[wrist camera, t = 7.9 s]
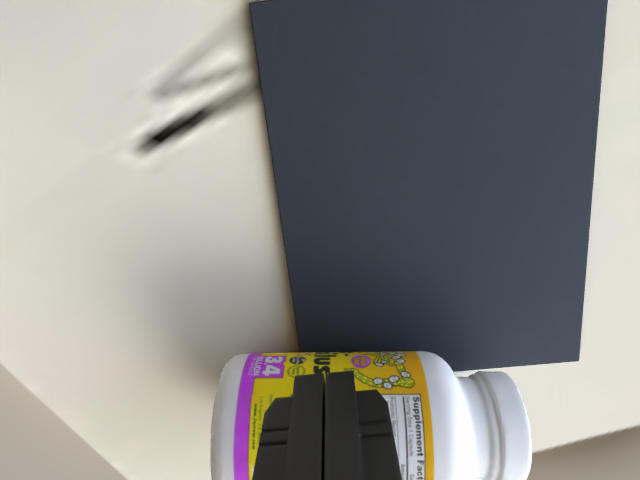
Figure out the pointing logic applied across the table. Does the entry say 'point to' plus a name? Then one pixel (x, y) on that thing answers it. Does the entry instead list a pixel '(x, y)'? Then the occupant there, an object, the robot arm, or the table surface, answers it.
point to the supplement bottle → (404, 406)
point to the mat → (434, 172)
